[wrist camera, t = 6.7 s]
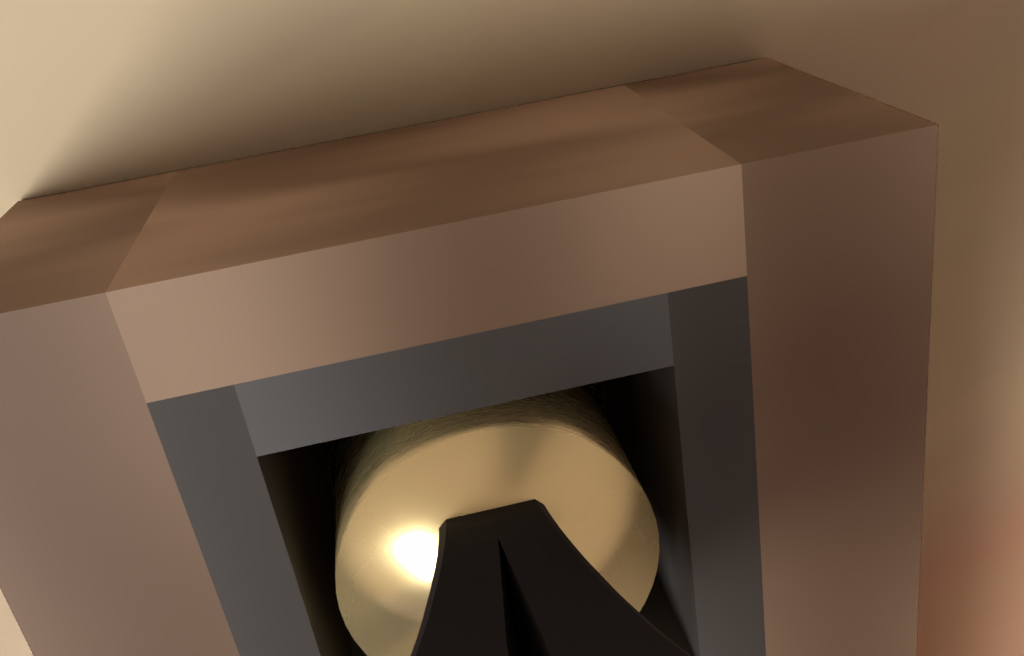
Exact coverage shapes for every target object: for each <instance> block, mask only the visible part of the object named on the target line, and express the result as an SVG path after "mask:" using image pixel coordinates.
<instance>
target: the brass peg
mask: <svg viewBox="0 0 1024 656" xmlns="http://www.w3.org/2000/svg"><path fill="white" fill-rule="evenodd" d="M533 499H536V500H538V501H539V502H541V503H543V504H544V505H545V507H546V508H547V510H548V512H549V513H550V515H551V516H552V517H553V519H554V520H555V522H556V523H557V524H558V526H559V527H560V528H561V530H562V531H563V532H564V534H565V535H566V536H567V537H568V539H569V540H570V541H571V542H572V543H573V545H574V546H575V547H576V548H577V549H578V551H579V552H580V553H581V554H582V555H583V556H584V557H585V558H586V560H587V561H588V562H589V563H590V564H591V565H592V566H593V567H594V568H595V569H596V570H597V571H598V572H599V573H600V574H601V575H602V577H603V578H604V579H605V580H606V581H607V582H608V583H609V584H610V585H611V586H612V587H613V588H614V589H615V590H616V591H617V592H618V593H619V594H620V595H621V596H622V597H623V598H624V599H625V600H626V601H627V602H628V603H630V604H631V605H632V606H633V607H634V608H635V609H636V610H637V611H638V612H640V610H641V609H642V607H643V605H644V604H645V602H646V600H647V598H648V595H649V593H650V591H651V588H652V586H653V583H654V579H655V576H656V572H657V567H658V560H659V533H658V528H657V522H656V518H655V515H654V513H653V510H652V507H651V504H650V502H649V500H648V498H647V496H646V494H645V492H644V490H643V488H642V486H641V484H640V482H639V480H638V478H637V477H636V475H635V473H634V471H633V469H632V467H631V465H630V463H629V461H628V459H627V457H626V455H625V453H624V451H623V449H622V447H621V445H620V443H619V441H618V439H617V437H616V435H615V434H614V432H613V430H612V428H611V426H610V424H609V422H608V420H607V418H606V416H605V414H604V412H603V410H602V408H601V406H600V404H599V402H598V400H597V398H596V396H595V394H594V392H593V390H592V389H591V387H590V385H589V384H587V385H583V386H578V387H574V388H569V389H564V390H560V391H555V392H551V393H546V394H542V395H537V396H532V397H528V398H523V399H519V400H514V401H510V402H505V403H500V404H496V405H491V406H487V407H482V408H478V409H473V410H468V411H464V412H459V413H455V414H450V415H446V416H441V417H436V418H432V419H427V420H423V421H418V422H413V423H409V424H404V425H400V426H395V427H391V428H386V429H381V430H377V431H372V432H368V433H363V434H359V435H354V436H349V437H345V438H340V439H336V515H335V580H336V595H337V600H338V605H339V609H340V612H341V615H342V617H343V620H344V622H345V625H346V627H347V629H348V630H349V632H350V634H351V635H352V637H353V639H354V640H355V642H356V643H357V644H358V645H359V646H360V648H361V649H362V650H363V651H364V652H365V654H366V655H367V656H411V653H412V650H413V648H414V645H415V642H416V639H417V636H418V633H419V629H420V626H421V623H422V619H423V615H424V611H425V608H426V604H427V600H428V596H429V593H430V589H431V584H432V579H433V575H434V570H435V564H436V559H437V552H438V542H439V527H440V526H441V525H442V524H443V522H444V521H445V520H446V519H450V518H454V517H459V516H463V515H468V514H472V513H476V512H481V511H485V510H491V509H494V508H498V507H503V506H507V505H511V504H515V503H520V502H524V501H528V500H533Z"/></svg>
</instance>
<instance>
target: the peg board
mask: <svg viewBox="0 0 1024 656" xmlns="http://www.w3.org/2000/svg"><path fill="white" fill-rule="evenodd" d="M937 144H938V124H936V123H933V122H931V121H928V120H925V119H923V118H920V117H918V116H915V115H913V114H910V113H907V112H905V111H902V110H900V109H897V108H895V107H892V106H889V105H887V104H884V103H882V102H879V101H876V100H874V99H871V98H869V97H866V96H864V95H861V94H858V93H856V92H853V91H851V90H848V89H845V88H843V87H840V86H838V85H835V84H833V83H830V82H827V81H825V80H822V79H820V78H817V77H815V76H812V75H809V74H807V73H804V72H802V71H799V70H796V69H794V68H791V67H789V66H786V65H784V64H781V63H778V62H776V61H773V60H771V59H768V58H762V59H756V60H751V61H746V62H741V63H736V64H730V65H725V66H720V67H715V68H710V69H704V70H699V71H694V72H689V73H684V74H678V75H673V76H668V77H663V78H658V79H652V80H647V81H642V82H637V83H632V84H626V85H621V86H616V87H611V88H606V89H600V90H595V91H590V92H585V93H580V94H574V95H569V96H564V97H559V98H554V99H548V100H543V101H538V102H533V103H528V104H522V105H517V106H512V107H507V108H502V109H496V110H491V111H486V112H481V113H476V114H470V115H465V116H460V117H455V118H450V119H445V120H439V121H434V122H429V123H424V124H419V125H413V126H408V127H403V128H398V129H393V130H387V131H382V132H377V133H372V134H367V135H361V136H356V137H351V138H346V139H341V140H335V141H330V142H325V143H320V144H315V145H309V146H304V147H299V148H294V149H289V150H283V151H278V152H273V153H268V154H263V155H257V156H252V157H247V158H242V159H237V160H231V161H226V162H221V163H216V164H211V165H205V166H200V167H195V168H190V169H185V170H179V171H174V172H169V173H164V174H159V175H153V176H148V177H143V178H138V179H133V180H127V181H122V182H117V183H112V184H107V185H101V186H96V187H91V188H86V189H81V190H75V191H70V192H65V193H60V194H55V195H49V196H44V197H39V198H34V199H29V200H23V201H18V202H17V203H16V204H15V205H14V206H13V207H12V208H11V209H10V210H9V211H8V212H7V213H6V214H4V215H3V216H2V217H1V218H0V589H1V591H2V593H3V595H4V597H5V599H6V601H7V603H8V605H9V607H10V609H11V611H12V613H13V615H14V617H15V619H16V621H17V623H18V625H19V627H20V629H21V631H22V633H23V635H24V637H25V639H26V641H27V643H28V645H29V647H30V649H31V651H32V653H33V655H34V656H367V655H366V654H365V652H364V651H363V650H362V649H361V648H360V646H359V645H358V644H357V643H356V642H355V640H354V639H353V637H352V635H351V634H350V632H349V630H348V629H347V627H346V625H345V622H344V620H343V617H342V615H341V612H340V609H339V605H338V600H337V595H336V580H335V515H336V495H335V492H334V488H333V485H332V481H331V478H330V474H329V471H328V467H327V463H326V460H325V456H324V453H323V449H322V446H321V443H322V442H327V441H331V440H336V439H340V438H345V437H349V436H354V435H359V434H363V433H368V432H372V431H377V430H381V429H386V428H391V427H395V426H400V425H404V424H409V423H413V422H418V421H423V420H427V419H432V418H436V417H441V416H446V415H450V414H455V413H459V412H464V411H468V410H473V409H478V408H482V407H487V406H491V405H496V404H500V403H505V402H510V401H514V400H519V399H523V398H528V397H532V396H537V395H542V394H546V393H551V392H555V391H560V390H564V389H569V388H574V387H578V386H583V385H587V384H592V383H596V382H601V388H602V396H603V404H604V411H605V416H606V418H607V420H608V422H609V424H610V426H611V428H612V430H613V432H614V434H615V435H616V437H617V439H618V441H619V443H620V445H621V447H622V449H623V451H624V453H625V455H626V457H627V459H628V461H629V463H630V465H631V467H632V469H633V471H634V473H635V475H636V477H637V478H638V480H639V482H640V484H641V486H642V488H643V490H644V492H645V494H646V496H647V498H648V500H649V502H650V504H651V507H652V510H653V513H654V515H655V518H656V522H657V528H658V533H659V560H658V567H657V572H656V576H655V579H654V583H653V586H652V588H651V591H650V593H649V595H648V598H647V600H646V602H645V604H644V605H643V607H642V609H641V610H640V612H639V613H641V614H642V615H643V616H644V617H645V618H646V619H647V620H648V621H649V622H651V623H652V624H653V625H654V626H655V627H656V628H658V629H659V630H660V631H661V632H662V633H663V634H665V635H666V636H667V637H668V638H670V639H671V640H672V641H673V642H674V643H676V644H677V645H678V646H679V647H681V648H682V649H683V650H685V651H686V652H687V653H689V654H690V655H691V656H916V651H917V627H918V603H919V579H920V554H921V530H922V506H923V482H924V458H925V434H926V410H927V385H928V361H929V337H930V313H931V289H932V265H933V241H934V216H935V192H936V168H937Z"/></svg>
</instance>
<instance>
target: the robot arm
mask: <svg viewBox="0 0 1024 656" xmlns="http://www.w3.org/2000/svg"><path fill="white" fill-rule="evenodd" d="M411 656H691V655H690V654H689V653H687V652H686V651H685V650H683V649H682V648H681V647H679V646H678V645H677V644H676V643H674V642H673V641H672V640H671V639H670V638H668V637H667V636H666V635H665V634H663V633H662V632H661V631H660V630H659V629H658V628H656V627H655V626H654V625H653V624H652V623H651V622H649V621H648V620H647V619H646V618H645V617H644V616H643V615H642V614H641V613H639V612H638V611H637V610H636V609H635V608H634V607H633V606H632V605H631V604H630V603H628V602H627V601H626V600H625V599H624V598H623V597H622V596H621V595H620V594H619V593H618V592H617V591H616V590H615V589H614V588H613V587H612V586H611V585H610V584H609V583H608V582H607V581H606V580H605V579H604V578H603V577H602V575H601V574H600V573H599V572H598V571H597V570H596V569H595V568H594V567H593V566H592V565H591V564H590V563H589V562H588V561H587V560H586V558H585V557H584V556H583V555H582V554H581V553H580V552H579V551H578V549H577V548H576V547H575V546H574V545H573V543H572V542H571V541H570V540H569V539H568V537H567V536H566V535H565V534H564V532H563V531H562V530H561V528H560V527H559V526H558V524H557V523H556V522H555V520H554V519H553V517H552V516H551V515H550V513H549V512H548V510H547V508H546V507H545V505H544V504H543V503H541V502H539V501H538V500H536V499H533V500H528V501H524V502H520V503H515V504H511V505H507V506H503V507H498V508H494V509H491V510H485V511H481V512H476V513H472V514H468V515H463V516H459V517H454V518H450V519H446V520H445V521H444V522H443V524H442V525H441V526H440V527H439V542H438V552H437V559H436V564H435V570H434V575H433V579H432V584H431V589H430V593H429V596H428V600H427V604H426V608H425V611H424V615H423V619H422V623H421V626H420V629H419V633H418V636H417V639H416V642H415V645H414V648H413V650H412V653H411Z"/></svg>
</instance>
